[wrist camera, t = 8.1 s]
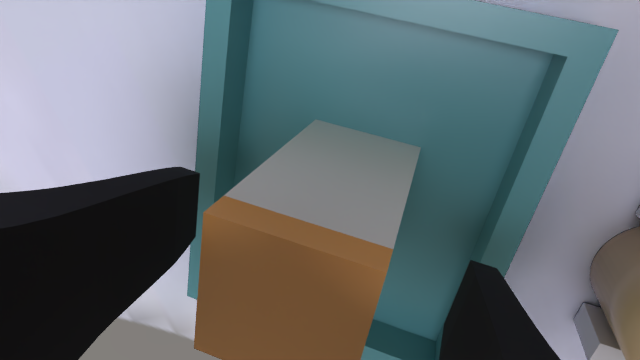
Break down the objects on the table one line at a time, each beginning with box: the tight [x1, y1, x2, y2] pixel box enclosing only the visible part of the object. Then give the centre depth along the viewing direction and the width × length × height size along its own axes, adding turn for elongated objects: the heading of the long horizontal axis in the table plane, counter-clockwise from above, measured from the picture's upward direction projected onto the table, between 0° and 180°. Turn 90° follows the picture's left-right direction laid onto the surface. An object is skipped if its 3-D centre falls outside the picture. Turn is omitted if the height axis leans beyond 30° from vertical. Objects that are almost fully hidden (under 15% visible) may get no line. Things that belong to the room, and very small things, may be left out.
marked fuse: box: [194, 120, 421, 360], centre depth 12 cm, size 4×4×7 cm
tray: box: [187, 0, 618, 360], centre depth 15 cm, size 11×13×2 cm
